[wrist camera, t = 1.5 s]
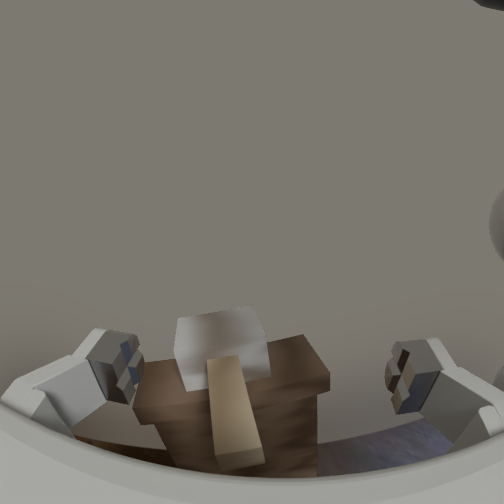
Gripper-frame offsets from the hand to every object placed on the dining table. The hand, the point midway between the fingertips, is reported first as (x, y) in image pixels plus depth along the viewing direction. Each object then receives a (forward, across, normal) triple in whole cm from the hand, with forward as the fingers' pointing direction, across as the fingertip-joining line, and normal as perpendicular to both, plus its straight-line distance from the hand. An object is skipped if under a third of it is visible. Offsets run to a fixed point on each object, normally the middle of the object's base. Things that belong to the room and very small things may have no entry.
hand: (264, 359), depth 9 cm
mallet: (+8, +3, +12) cm, 14 cm away
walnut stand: (+8, 0, +38) cm, 39 cm away
